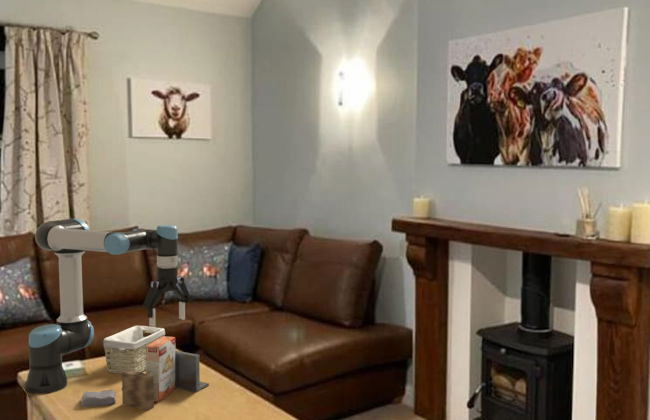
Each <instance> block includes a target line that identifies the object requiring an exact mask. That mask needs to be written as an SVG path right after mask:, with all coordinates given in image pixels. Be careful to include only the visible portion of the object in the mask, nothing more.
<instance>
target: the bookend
mask: <svg viewBox="0 0 650 420" xmlns="http://www.w3.org/2000/svg"><path fill="white" fill-rule="evenodd" d="M200 375H201V374H200V354H197V353H190V352H185V351H180V350H175V389H176V388H177V389H181V390H185V391H191V392H196V393H197V392H199V391H201V390H202V389H204V388H207V387H209V386H210V383H209V382H205V381H200Z"/></svg>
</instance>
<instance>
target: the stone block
mask: <svg viewBox="0 0 650 420" xmlns="http://www.w3.org/2000/svg"><path fill="white" fill-rule="evenodd" d="M80 399H81V407H82V408H88V407H89V408H90V407H91V408H92V407H102V406H110V405H111V406H112V405H115V404H116V402H117V401H116V390H114V389H106V390H104V389H103V390H101V391H84V392H83V394H82V395H81V398H80Z"/></svg>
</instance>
